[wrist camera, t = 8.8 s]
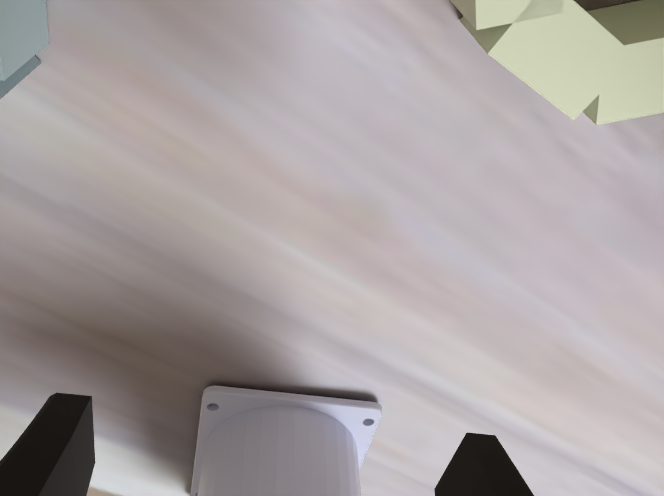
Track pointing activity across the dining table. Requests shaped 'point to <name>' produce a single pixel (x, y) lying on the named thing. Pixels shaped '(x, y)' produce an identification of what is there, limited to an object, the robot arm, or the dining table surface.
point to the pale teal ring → (20, 39)
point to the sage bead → (577, 52)
